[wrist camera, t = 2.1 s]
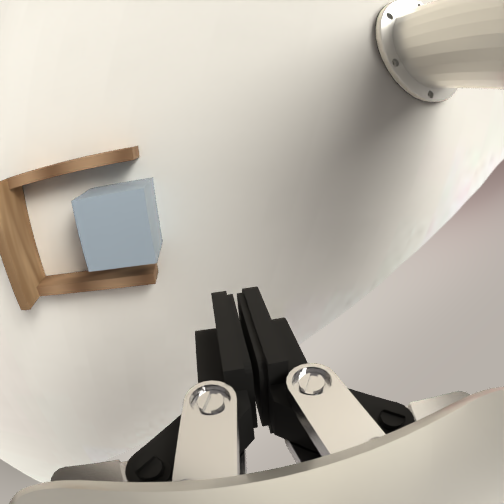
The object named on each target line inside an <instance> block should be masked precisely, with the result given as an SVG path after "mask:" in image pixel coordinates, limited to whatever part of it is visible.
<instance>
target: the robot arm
mask: <svg viewBox="0 0 504 504" xmlns="http://www.w3.org/2000/svg"><path fill="white" fill-rule="evenodd" d="M376 40H377V45H378V49H379V52H380V54H381V57H382V60H383V62H384V64H385V66H386V68H387V69H388V71H389V72H390V74H391V75H392V77H393V78H394V79H395V81H396V82H397V83H398V84H399V85H400V86H401V87H402V88H403V89H404V90H405V91H406V92H408V93H409V94H411V95H412V96H414V97H415V98H417V99H420V100H423V101H428V102H441V101H445V100H447V99H448V98H450V97H451V96H452V95H453V94H454V93H455V92H456V90H457V88H484V89H503V90H504V0H435V1H432V2H429V3H426V4H423V3H421V2H418V1H415V0H395V1H393V2H391V3H389V4H387V5H386V6H385V7H384V8H383V9H382V10H381V11H380V13H379V16H378V18H377V23H376ZM211 295H212V302H213V309H214V316H215V323H216V328H215V329H207V330H200V331H195V341H196V357H197V372H198V384H196V385H195V386H193V387H192V388H190V389H189V391H188V392H187V393H186V395H185V398H184V402H183V408H182V414H181V415H180V416H179V417H178V418H177V419H175V420H174V421H173V422H172V423H171V424H170V425H169V426H167V427H166V428H165V429H164V430H163V431H162V432H160V433H159V434H158V435H157V436H156V437H154V438H153V439H152V440H151V441H150V442H149V443H147V444H146V445H145V446H144V447H142V448H141V449H140V450H139V451H138V452H136V453H135V454H134V455H133V456H132V457H131V458H130V459H129V461H125V462H120V461H119V460H114V461H107V462H101V463H94V464H87V465H78V466H69V467H63V468H60V469H58V470H57V471H56V472H55V473H54V474H53V476H52V478H51V482H44V483H40V484H36V485H32V486H29V487H27V488H24V489H22V490H20V491H19V492H18V493H16V494H15V495H14V497H13V498H12V500H11V501H10V503H9V504H504V387H496V388H490V389H487V390H483V391H480V392H477V393H474V394H472V395H469V394H468V393H466V392H462V391H457V392H452V393H449V394H444V395H440V396H436V397H432V398H428V399H423V400H419V401H414V402H410V403H409V405H408V406H404V405H402V404H399V403H397V402H393V401H389V400H386V399H382V398H379V397H375V396H372V395H368V394H365V393H361V392H358V391H355V390H352V389H348V388H347V387H346V386H345V385H344V384H343V382H342V381H341V380H340V379H339V378H338V376H337V375H336V374H335V373H334V372H333V371H332V370H331V369H330V368H328V367H326V366H324V365H321V364H317V363H307V361H306V359H305V357H304V355H303V353H302V351H301V349H300V347H299V345H298V343H297V341H296V339H295V336H294V334H293V332H292V330H291V328H290V326H289V324H288V322H287V320H286V319H285V318H279V319H273V320H271V318H270V315H269V313H268V310H267V308H266V306H265V303H264V301H263V299H262V296H261V294H260V291H259V289H258V287H251V288H244V289H242V293H237V300H238V310H239V317H238V313H237V309H236V305H235V302H234V298H233V294H230V295H227V293H226V291H223V292H215V293H211ZM255 401H256V404H257V408H258V412H259V416H260V420H261V423H262V426H267V425H268V426H269V429H270V433H274V434H275V435H277V436H279V437H282V438H284V439H285V443H286V445H287V447H288V449H289V451H290V453H291V454H292V456H293V458H294V460H295V462H296V463H297V464H293V465H289V466H285V467H281V468H276V469H271V470H266V471H261V472H255V473H249V474H247V469H246V450H245V449H246V448H247V447H248V445H249V444H250V443H251V442H252V441H253V440H254V429H253V428H257V427H258V425H257V414H256V404H255Z"/></svg>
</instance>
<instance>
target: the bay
mask: <svg viewBox="0 0 504 504" xmlns="http://www.w3.org/2000/svg"><path fill="white" fill-rule="evenodd" d="M138 157H139V150H138V146H135V147H129V148H124V149H119V150H113V151H109V152H104V153H99V154H94V155H90V156H85V157H81V158H77V159H73V160H69V161H65V162H61V163H57V164H53V165H50V166H46V167H42V168H39V169H35V170H32V171H29V172H25V173H22V174H19V175H16V176H13V177H10V178H7V179H5V180H2V181H0V254H1V258H2V261H3V264H4V267H5V270H6V272H7V275H8V278H9V281H10V283H11V286H12V289H13V291H14V294H15V296H16V299H17V301H18V304H19V306H20V308H21V310H30V309H31V308H32V306H33V305H34V303H35V302H36V301H37V299H38V298H39V297H40V296H47V295H57V294H67V293H77V292H86V291H95V290H105V289H114V288H122V287H131V286H140V285H148V284H156V279H157V275H158V268H157V263H155V264H147V265H139V266H131V267H123V268H116V269H108V270H100V271H92V272H89V271H82V272H74V273H66V274H58V275H51V276H46V275H45V272H44V269H43V266H42V263H41V260H40V257H39V253H38V250H37V247H36V243H35V240H34V236H33V232H32V228H31V224H30V220H29V216H28V212H27V207H26V202H25V198H24V193H23V187H22V185H26V184H29V183H33V182H36V181H40V180H44V179H47V178H51V177H55V176H59V175H63V174H67V173H72V172H76V171H80V170H85V169H89V168H94V167H99V166H104V165H109V164H114V163H119V162H125V161H130V160H134V159H136V158H138Z"/></svg>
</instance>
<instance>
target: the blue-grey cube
mask: <svg viewBox="0 0 504 504" xmlns="http://www.w3.org/2000/svg"><path fill="white" fill-rule="evenodd" d="M71 202H72V207H73V211H74V216H75V221H76V225H77V229H78V233H79V238H80V242H81V245H82V249H83V253H84V257H85V260H86V264H87V267H88V271H89V272H92V271H100V270H108V269H116V268H123V267H131V266H139V265H147V264H155V263H157V261H158V257H159V253H160V249H161V245H162V235H161V229H160V223H159V217H158V210H157V204H156V197H155V190H154V182H153V178H147V179H141V180H135V181H129V182H123V183H117V184H112V185H106V186H101V187H96V188H91V189H89V190H88V191H86V192H85V193H83V194H82V195H80V196H78V197H77V198H75V199H74V200H72V201H71Z"/></svg>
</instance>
